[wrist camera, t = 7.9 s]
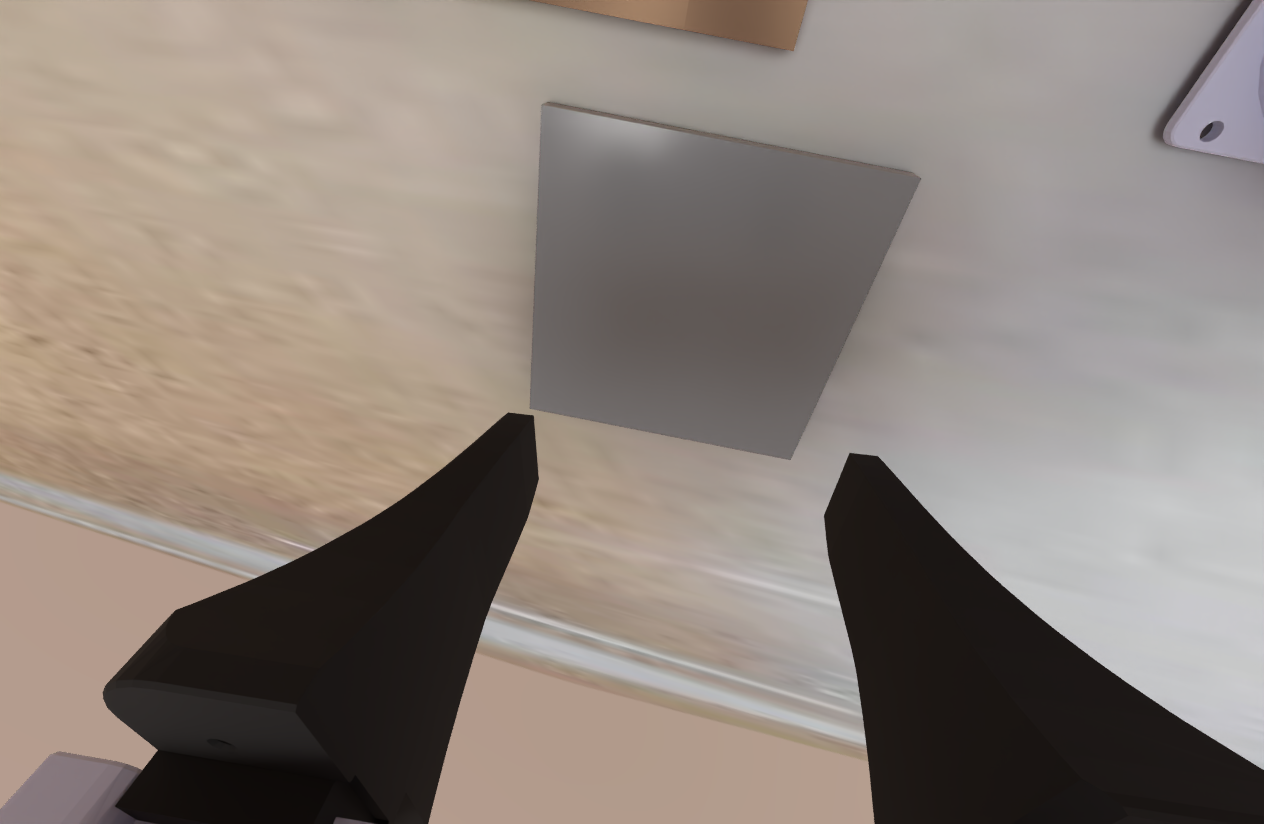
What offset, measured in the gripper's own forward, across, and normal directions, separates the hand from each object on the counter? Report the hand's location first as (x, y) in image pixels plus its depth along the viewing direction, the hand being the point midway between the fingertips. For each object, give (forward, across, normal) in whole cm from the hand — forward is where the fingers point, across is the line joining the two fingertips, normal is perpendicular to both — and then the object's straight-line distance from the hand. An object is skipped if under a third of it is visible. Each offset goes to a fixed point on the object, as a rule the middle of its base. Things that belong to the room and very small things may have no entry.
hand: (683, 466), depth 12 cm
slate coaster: (+10, 0, 0) cm, 10 cm away
